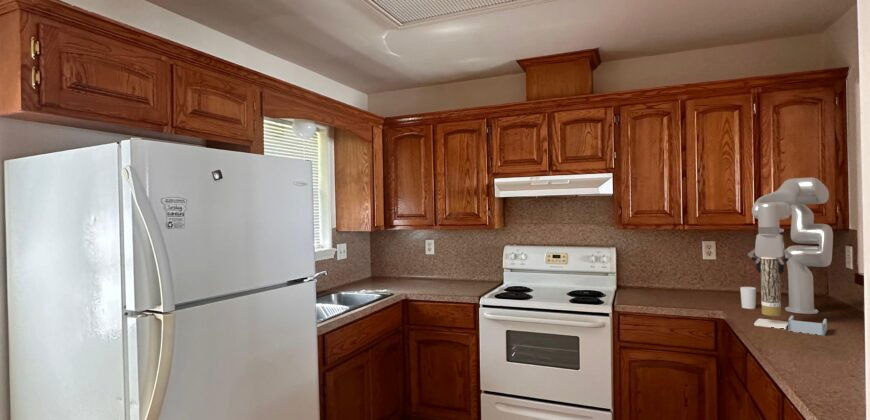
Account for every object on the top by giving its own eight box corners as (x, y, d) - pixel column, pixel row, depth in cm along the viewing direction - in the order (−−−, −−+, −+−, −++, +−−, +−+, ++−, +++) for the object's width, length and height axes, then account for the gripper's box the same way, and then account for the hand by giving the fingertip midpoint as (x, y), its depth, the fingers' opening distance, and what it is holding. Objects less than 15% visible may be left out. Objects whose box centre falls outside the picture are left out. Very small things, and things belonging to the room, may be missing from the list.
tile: (758, 320, 213) (758, 318, 213) (789, 324, 206) (789, 321, 206) (754, 325, 205) (754, 323, 205) (785, 329, 198) (785, 326, 198)
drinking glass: (758, 309, 237) (758, 288, 237) (744, 308, 238) (743, 288, 238) (752, 306, 244) (752, 286, 244) (738, 306, 245) (737, 286, 245)
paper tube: (758, 314, 208) (756, 256, 208) (768, 312, 210) (767, 255, 210) (773, 317, 201) (772, 258, 201) (784, 315, 204) (783, 257, 204)
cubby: (791, 326, 203) (791, 315, 203) (826, 330, 195) (826, 319, 195) (788, 331, 195) (788, 320, 195) (825, 335, 187) (824, 324, 187)
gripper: (795, 231, 203) (796, 273, 203) (746, 231, 214) (748, 270, 214) (793, 232, 197) (794, 275, 197) (743, 231, 209) (744, 272, 209)
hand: (770, 272), depth 206 cm, fingers closed on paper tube, 6 cm apart
